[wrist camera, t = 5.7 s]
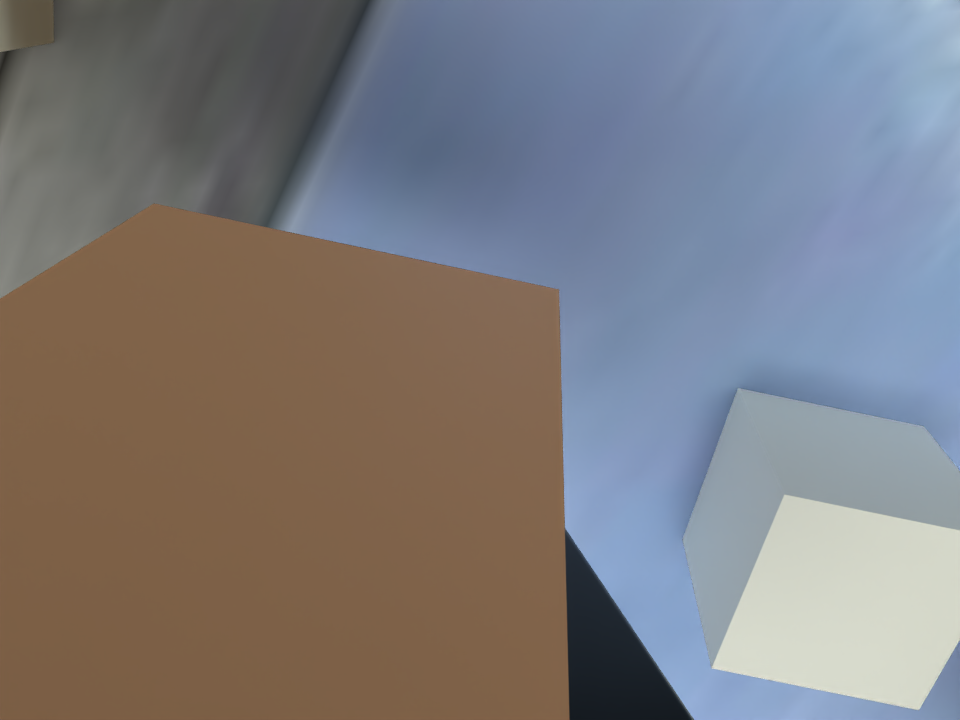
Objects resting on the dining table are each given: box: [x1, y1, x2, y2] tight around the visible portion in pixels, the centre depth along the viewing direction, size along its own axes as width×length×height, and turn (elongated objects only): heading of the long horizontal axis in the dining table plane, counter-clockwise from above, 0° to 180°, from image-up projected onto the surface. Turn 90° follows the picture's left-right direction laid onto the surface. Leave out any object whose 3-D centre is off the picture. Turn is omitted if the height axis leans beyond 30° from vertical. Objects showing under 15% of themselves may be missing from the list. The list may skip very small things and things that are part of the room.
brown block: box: [0, 204, 569, 720], centre depth 7 cm, size 4×4×7 cm
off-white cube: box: [682, 388, 960, 710], centre depth 21 cm, size 5×5×5 cm
